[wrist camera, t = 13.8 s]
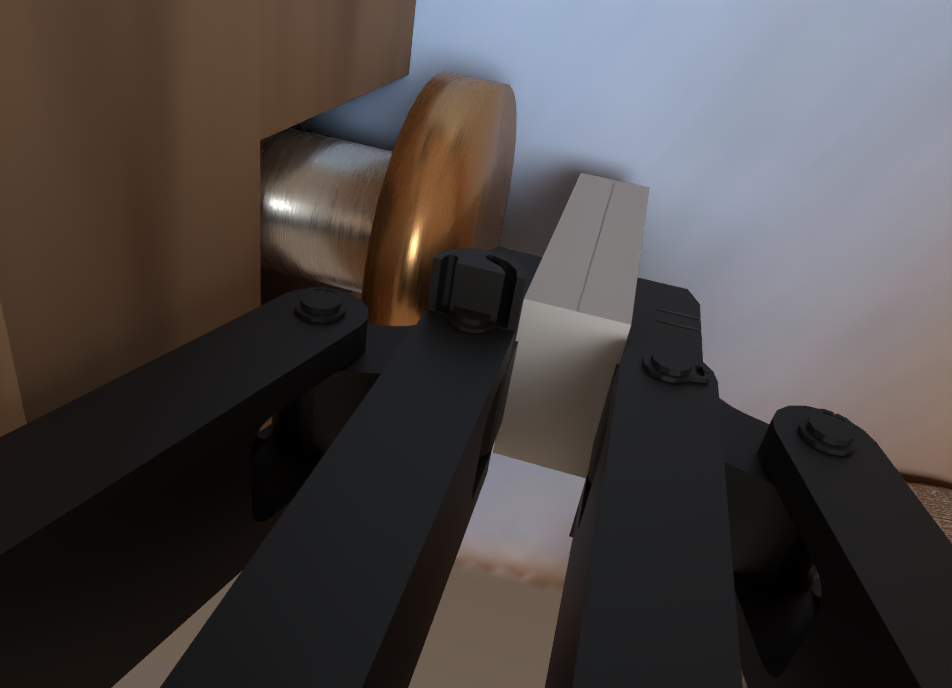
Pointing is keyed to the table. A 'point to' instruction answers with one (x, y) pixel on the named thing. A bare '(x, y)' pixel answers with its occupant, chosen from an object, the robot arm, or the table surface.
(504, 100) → the shaft
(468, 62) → the table surface
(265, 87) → the spacer
